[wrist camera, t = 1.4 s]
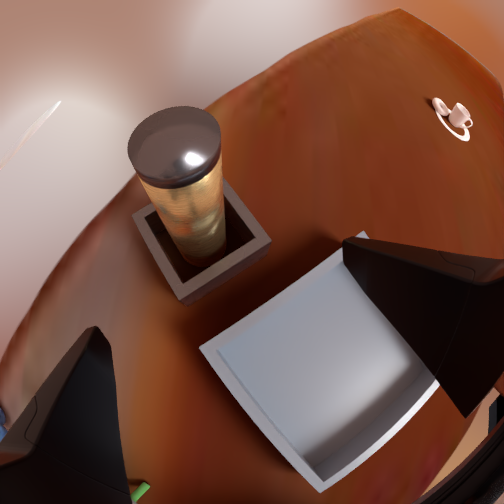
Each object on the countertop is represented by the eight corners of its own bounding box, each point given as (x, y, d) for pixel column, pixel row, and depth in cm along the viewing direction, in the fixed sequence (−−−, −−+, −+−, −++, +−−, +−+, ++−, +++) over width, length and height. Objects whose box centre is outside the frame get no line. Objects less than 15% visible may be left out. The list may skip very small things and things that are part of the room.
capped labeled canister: (235, 249, 23) (239, 145, 10) (194, 276, 22) (148, 193, 9) (210, 213, 23) (193, 95, 11) (170, 237, 23) (116, 133, 10)
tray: (428, 368, 20) (451, 369, 17) (308, 475, 17) (319, 493, 13) (346, 245, 23) (363, 230, 20) (204, 346, 20) (198, 347, 17)
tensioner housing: (266, 255, 23) (271, 240, 19) (187, 306, 21) (179, 300, 17) (216, 189, 24) (214, 166, 21) (144, 232, 22) (131, 215, 19)
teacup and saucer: (423, 102, 33) (434, 87, 29) (447, 105, 35) (457, 92, 31) (453, 142, 31) (466, 127, 27) (474, 142, 32) (486, 129, 28)
